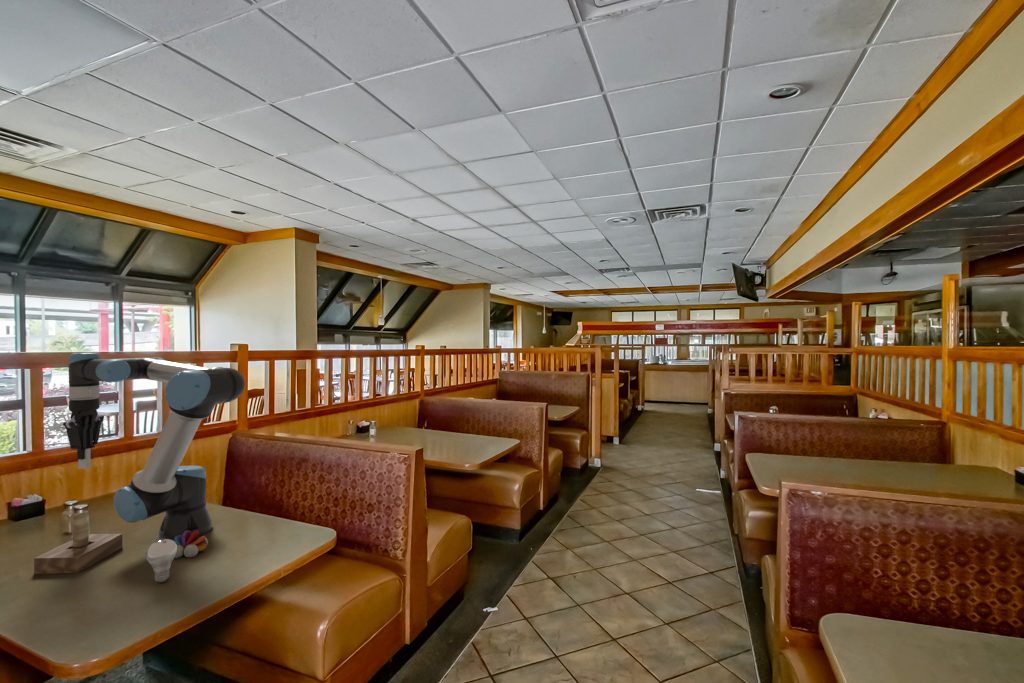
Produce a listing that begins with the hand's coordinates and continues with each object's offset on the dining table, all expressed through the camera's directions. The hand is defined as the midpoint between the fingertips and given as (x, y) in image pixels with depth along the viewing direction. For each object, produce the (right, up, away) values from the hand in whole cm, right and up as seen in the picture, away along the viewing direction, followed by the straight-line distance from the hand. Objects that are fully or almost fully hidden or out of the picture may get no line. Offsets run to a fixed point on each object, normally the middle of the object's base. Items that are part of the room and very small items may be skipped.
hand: (84, 468), depth 152 cm
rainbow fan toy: (+42, -25, -9) cm, 49 cm away
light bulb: (+46, -25, -26) cm, 58 cm away
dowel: (+12, -25, -13) cm, 30 cm away
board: (+12, -25, -13) cm, 30 cm away
